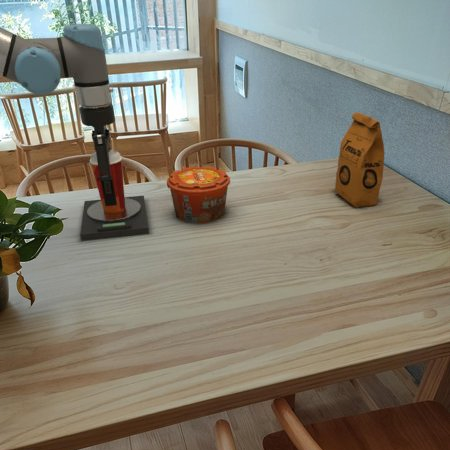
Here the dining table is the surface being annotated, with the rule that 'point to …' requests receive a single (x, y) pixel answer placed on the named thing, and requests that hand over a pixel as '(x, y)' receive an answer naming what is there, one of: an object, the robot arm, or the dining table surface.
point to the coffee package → (361, 162)
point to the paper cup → (117, 181)
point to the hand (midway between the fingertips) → (111, 194)
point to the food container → (199, 193)
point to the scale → (114, 220)
